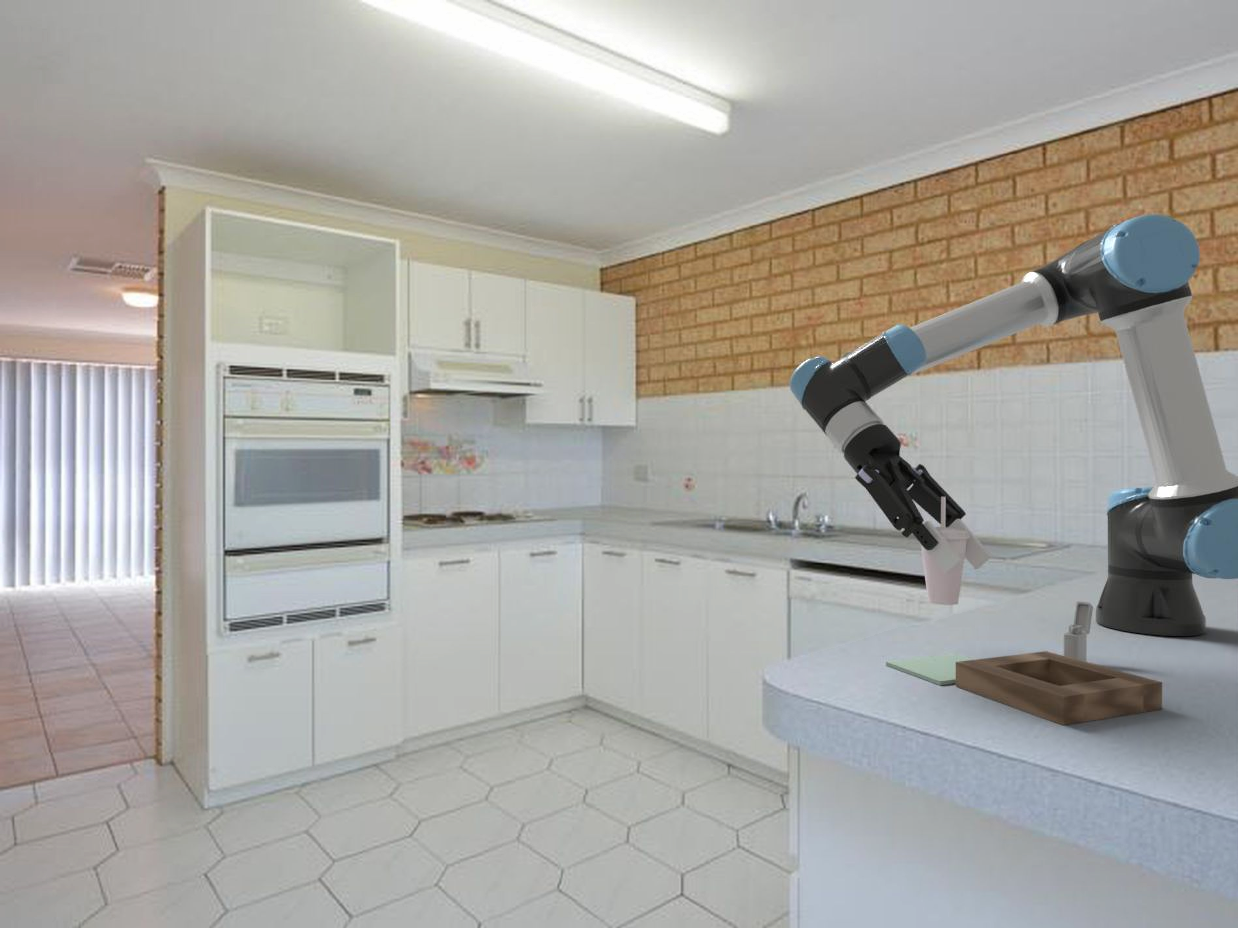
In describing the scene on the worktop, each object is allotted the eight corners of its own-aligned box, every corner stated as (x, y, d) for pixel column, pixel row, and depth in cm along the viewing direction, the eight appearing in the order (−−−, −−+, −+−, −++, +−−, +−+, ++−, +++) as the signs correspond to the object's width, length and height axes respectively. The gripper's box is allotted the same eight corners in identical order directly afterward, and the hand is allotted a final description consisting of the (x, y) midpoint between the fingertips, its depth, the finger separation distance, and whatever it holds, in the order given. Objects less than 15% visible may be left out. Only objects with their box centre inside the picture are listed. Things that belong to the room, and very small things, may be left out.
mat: (955, 657, 109) (955, 653, 109) (1013, 675, 100) (1013, 671, 100) (885, 665, 105) (885, 661, 105) (940, 685, 96) (940, 681, 96)
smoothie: (966, 599, 105) (967, 496, 105) (971, 608, 99) (972, 498, 98) (916, 596, 107) (916, 495, 107) (918, 604, 101) (918, 497, 101)
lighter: (1077, 667, 104) (1077, 608, 104) (1063, 665, 105) (1063, 606, 105) (1093, 658, 109) (1093, 601, 109) (1079, 656, 110) (1079, 600, 110)
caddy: (1046, 674, 101) (1046, 651, 101) (1162, 708, 87) (1162, 682, 87) (955, 686, 95) (955, 661, 95) (1063, 725, 81) (1063, 696, 81)
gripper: (888, 458, 121) (989, 576, 107) (805, 458, 109) (906, 589, 96) (919, 423, 116) (1028, 541, 103) (835, 419, 105) (945, 551, 92)
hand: (968, 564), depth 100 cm, fingers closed on smoothie, 6 cm apart
